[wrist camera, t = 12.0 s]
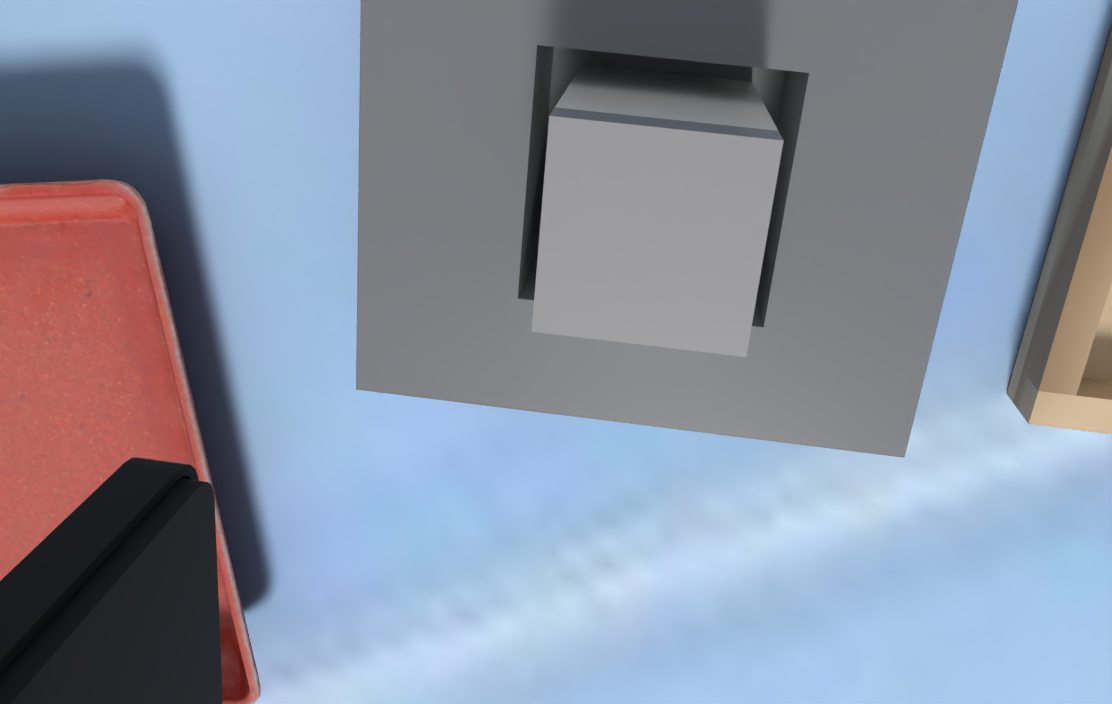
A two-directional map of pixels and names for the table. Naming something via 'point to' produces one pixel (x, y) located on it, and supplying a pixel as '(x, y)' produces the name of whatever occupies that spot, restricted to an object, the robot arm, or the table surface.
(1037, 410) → the tray
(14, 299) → the plant saucer
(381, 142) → the block
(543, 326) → the plug
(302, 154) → the table surface
